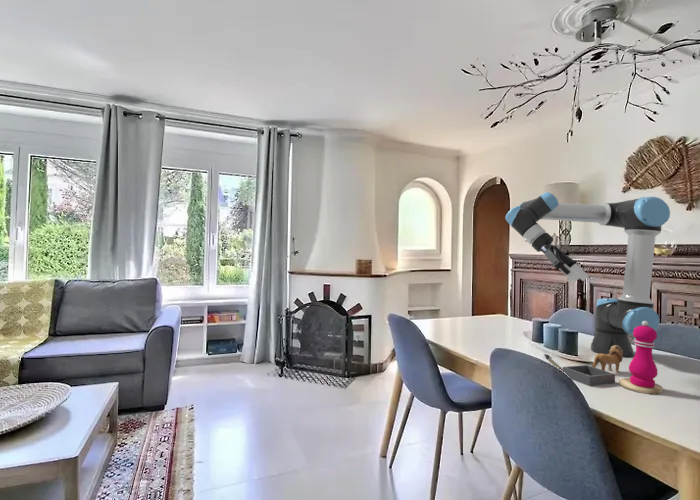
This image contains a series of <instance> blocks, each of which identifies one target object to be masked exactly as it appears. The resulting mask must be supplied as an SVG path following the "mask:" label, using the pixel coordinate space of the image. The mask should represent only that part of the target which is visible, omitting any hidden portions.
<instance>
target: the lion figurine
mask: <svg viewBox="0 0 700 500" xmlns="http://www.w3.org/2000/svg"><path fill="white" fill-rule="evenodd" d="M610 348H611V349H610V353H609V354H601V353H597V354H596V355H595V357H594V360H593V363H592V365H591V366H592V367H595V368H597V367H596V366H598V364H599V363H600V365H601V370H604V371H606V366H607V371H608V372H610V371H613V369H612V365H615V370H614V371H615V373H617V374H618V373H621V371H620V370H619V369H620V363H622V362H623V358H624V357H623V350H622V349H621V348H620V346H617V345H613V346H611V347H610Z"/></svg>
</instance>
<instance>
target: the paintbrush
mask: <svg viewBox="0 0 700 500" xmlns="http://www.w3.org/2000/svg"><path fill="white" fill-rule="evenodd" d="M544 357H545V359H546V360H547V361H548V362H549V363H551V364H552V365H553V366H554V367H555V366H556V367H558V368H559V369H561V370H563V368H562V367H561V366H560V365H559V364H558V363H557V362H555V360H553V359H552V358H551V356H550V355H549V354H545V353H544ZM556 367H555V368H556ZM558 368H557V369H558Z"/></svg>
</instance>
